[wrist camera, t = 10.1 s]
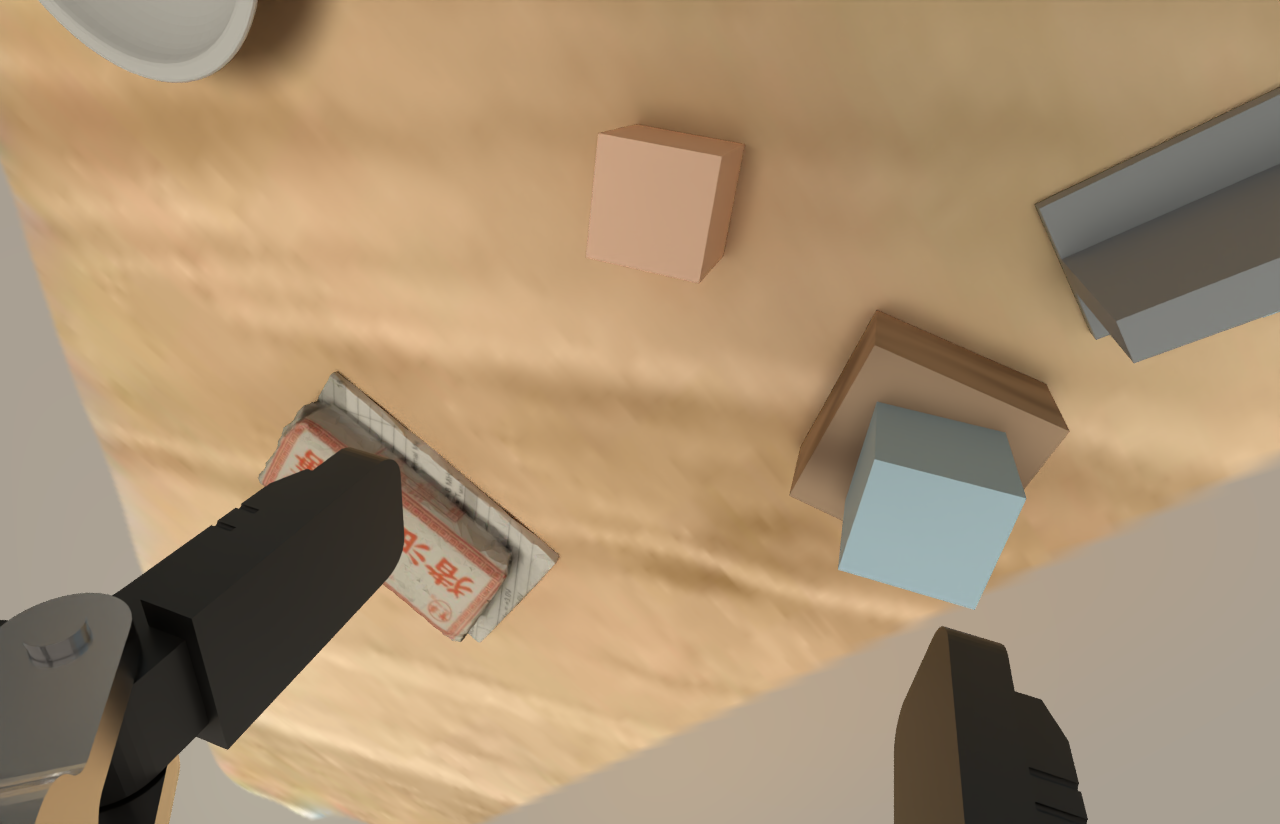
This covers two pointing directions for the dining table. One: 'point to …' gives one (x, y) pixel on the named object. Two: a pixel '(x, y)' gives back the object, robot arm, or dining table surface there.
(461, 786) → the dining table surface
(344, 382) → the packaged product
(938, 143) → the dining table surface
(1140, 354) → the display stand
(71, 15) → the dish
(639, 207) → the terracotta block
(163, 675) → the robot arm
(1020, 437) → the walnut block
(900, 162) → the dining table surface
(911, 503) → the blue block
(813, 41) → the dining table surface
